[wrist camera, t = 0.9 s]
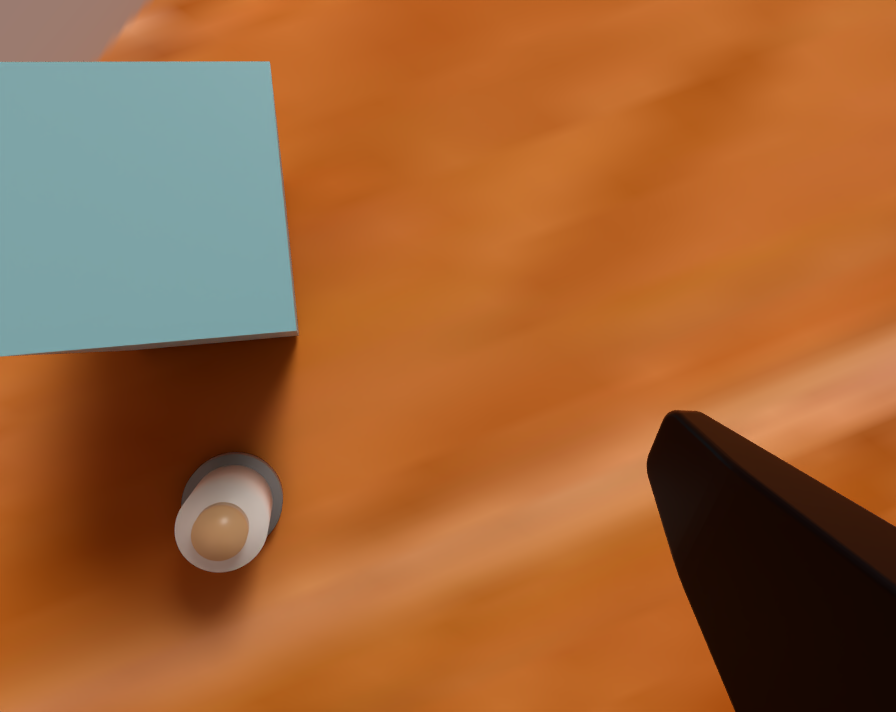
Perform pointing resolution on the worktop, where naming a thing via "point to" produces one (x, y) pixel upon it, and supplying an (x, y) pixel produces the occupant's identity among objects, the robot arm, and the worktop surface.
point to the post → (228, 511)
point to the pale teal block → (140, 207)
